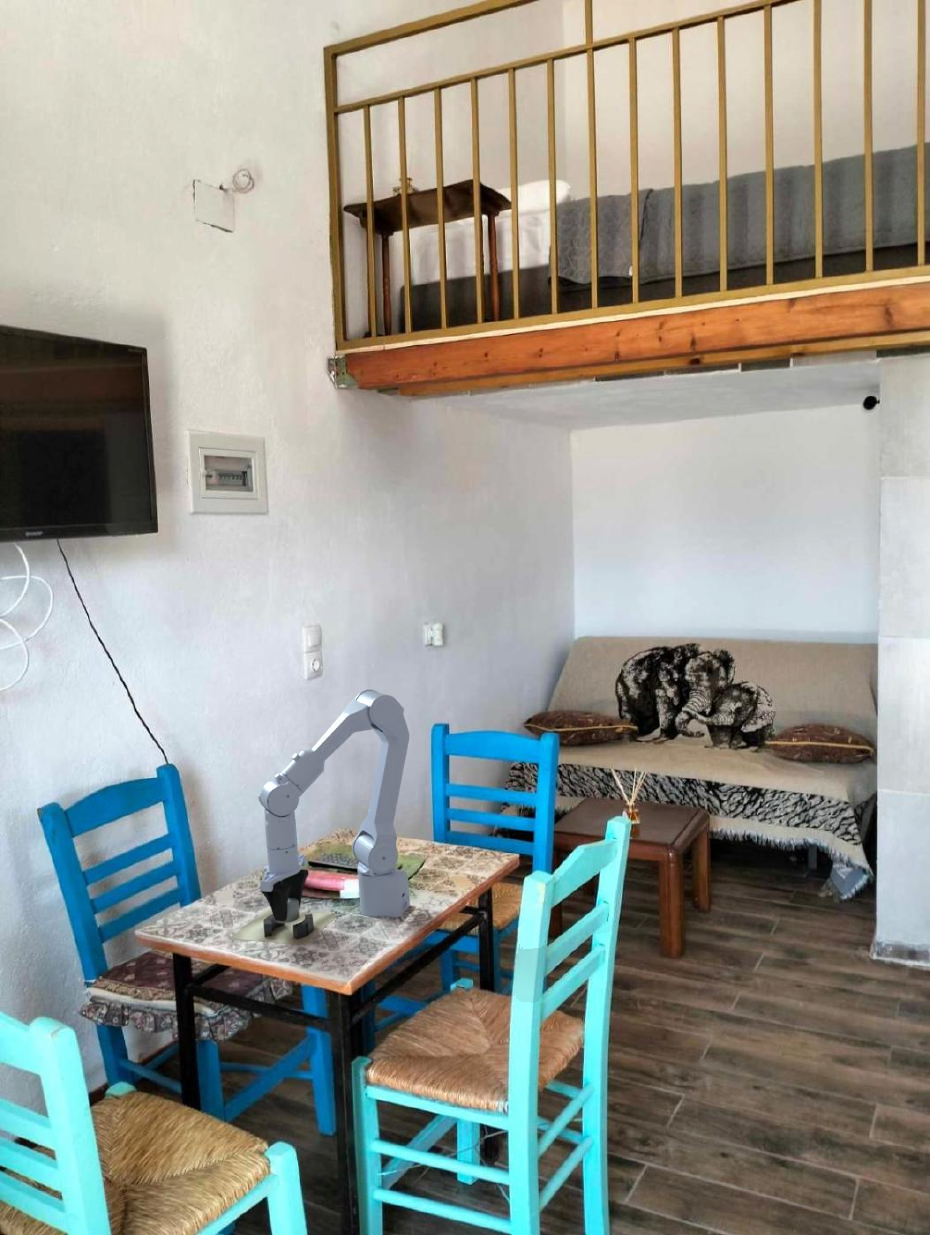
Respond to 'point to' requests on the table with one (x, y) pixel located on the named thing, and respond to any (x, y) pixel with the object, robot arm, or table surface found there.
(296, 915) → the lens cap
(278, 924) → the split dark grey block
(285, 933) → the board
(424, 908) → the table surface
